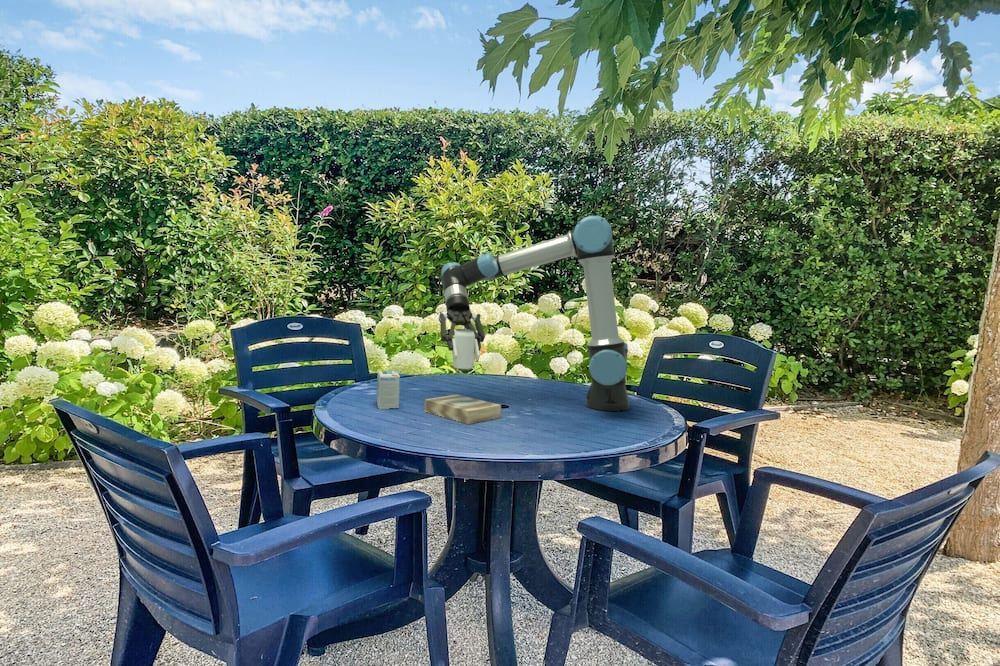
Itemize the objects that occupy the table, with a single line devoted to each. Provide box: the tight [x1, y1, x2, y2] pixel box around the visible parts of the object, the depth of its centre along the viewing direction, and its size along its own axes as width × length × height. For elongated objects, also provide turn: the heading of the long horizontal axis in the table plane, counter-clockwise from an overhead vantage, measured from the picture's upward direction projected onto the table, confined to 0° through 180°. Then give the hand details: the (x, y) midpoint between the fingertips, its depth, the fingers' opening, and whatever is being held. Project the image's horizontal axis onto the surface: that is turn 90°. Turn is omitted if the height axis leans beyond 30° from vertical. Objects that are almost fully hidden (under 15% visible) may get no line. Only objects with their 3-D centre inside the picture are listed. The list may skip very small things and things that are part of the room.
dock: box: [423, 394, 502, 425], centre depth 191 cm, size 20×14×4 cm
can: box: [452, 328, 475, 370], centre depth 189 cm, size 6×6×12 cm
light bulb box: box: [376, 370, 401, 410], centre depth 199 cm, size 11×7×11 cm, turn 15°
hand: (466, 358), depth 186 cm, fingers closed on can, 6 cm apart
